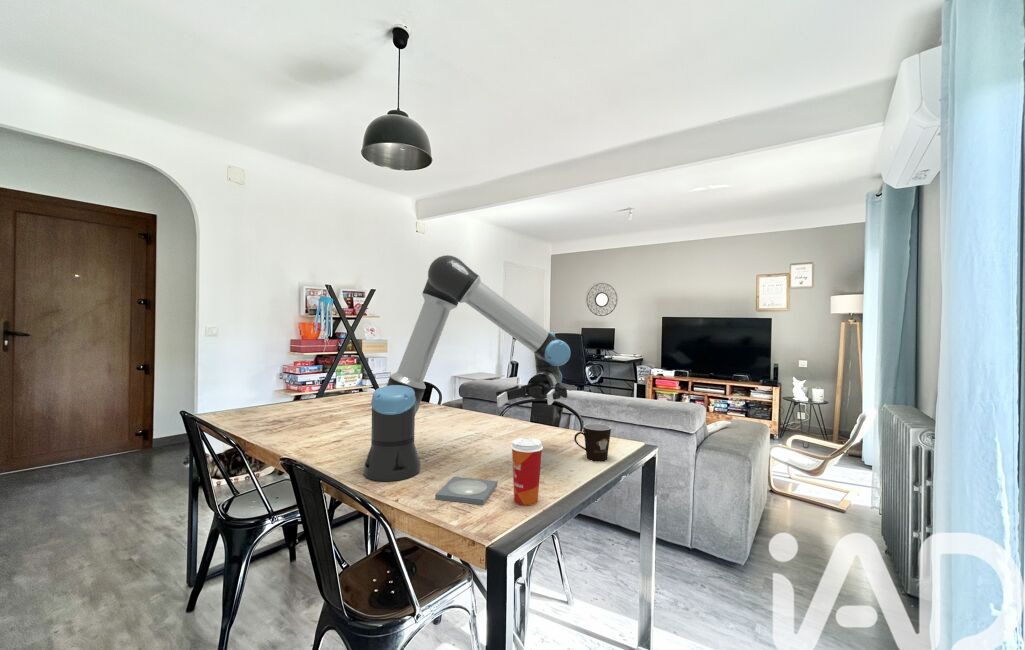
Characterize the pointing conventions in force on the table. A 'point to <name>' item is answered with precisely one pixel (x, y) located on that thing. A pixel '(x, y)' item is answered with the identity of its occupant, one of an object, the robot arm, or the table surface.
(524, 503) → the paper cup
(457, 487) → the coaster
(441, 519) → the table surface
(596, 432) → the coffee mug
